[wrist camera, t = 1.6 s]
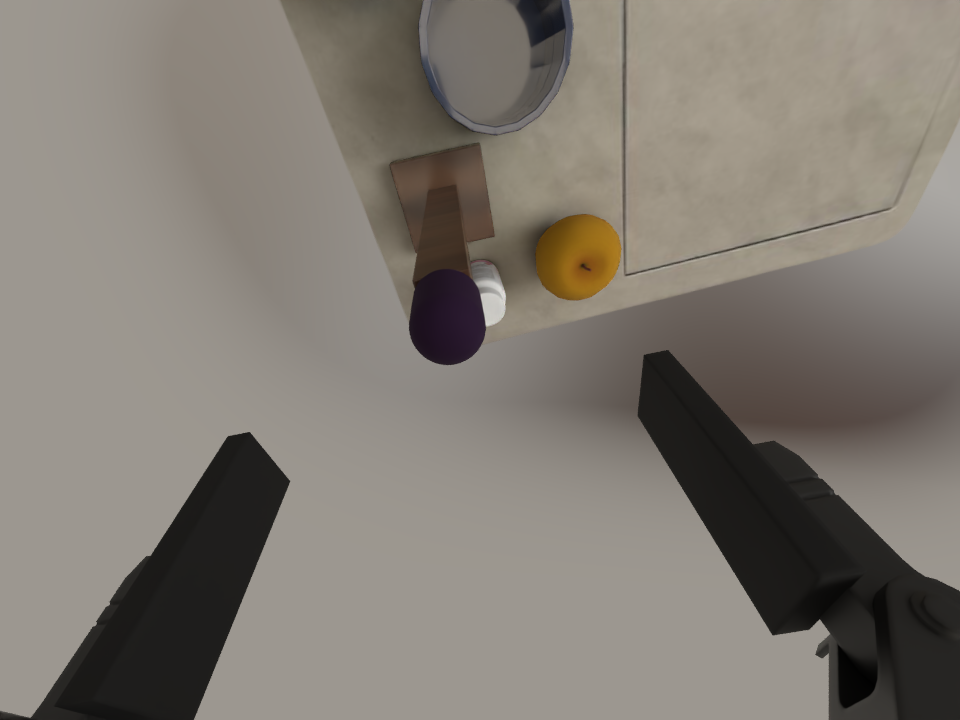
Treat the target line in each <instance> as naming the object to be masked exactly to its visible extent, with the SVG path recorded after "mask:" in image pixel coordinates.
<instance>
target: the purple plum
mask: <svg viewBox="0 0 960 720" xmlns="http://www.w3.org/2000/svg"><path fill="white" fill-rule="evenodd" d="M409 331H410V336H411V339H412V342H413V344H414V346H415V347H416V349H417V350H418V351H419V352H420V354H422V355H423V356H424V357H425V358H427V359H428V360H430V361H432V362H434V363H438V364H443V365H453V364H458V363H461V362H463V361H466V360H467V359H469V358H470V357H472V356H473V355H474V354H475V353H476V352H477V351H478V349H479V348H480V346H481V344H482V342H483V340H484V337H485V331H486V323H485V316H484V311H483V306H482V301H481V295H480V291H479V289H478V287H477V285H476V283H475V282H474V281H473V280H472V279H471V278H470V277H469V276H468V275H466V274H464V273H462V272H460V271H457V270H453V269H440V270H436V271H433V272H431V273H429V274H427V275H426V276H424V277H423V278H422V279H421V280H420V281H419V283H418V284H417V286H416V288H415V291H414V295H413V301H412V308H411V314H410V321H409Z"/></svg>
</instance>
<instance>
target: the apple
mask: <svg viewBox="0 0 960 720" xmlns="http://www.w3.org/2000/svg"><path fill="white" fill-rule="evenodd" d="M620 256H621V245H620V240H619V236H618V234H617V233H616V231H615V230H614V229H613V227H612V226H611V225H610V224H609V223H607V222H606V221H605V220H603V219H600V218H598V217H595V216H593V215H587V214H581V215H574V216H568V217H566V218H564V219H561V220H559V221H558V222H556V223H555V224H553V225H552V226H551V227H549V228H548V229H547V230H546V231H545V233H544V234H543V235H542V236H541V238H540V240H539V242H538V244H537V248H536V253H535V257H536V267H537V274H538V276H539V279H540V281H541V283H542V285H543V286H544V287H545V288H546V289H547V290H548V291H550V292H551V293H553V294H554V295H556V296H557V297H559V298H562V299H566V300H582V299H586V298H590V297H592V296H593V295H595V294H596V293H597V292H599V291H600V290H602V289H603V288H605V287H606V286H607V285H608V284H609V282H610V281H611V280H612V279H613V277H614V276H615V274H616V272H617V269H618V266H619V263H620Z"/></svg>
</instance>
